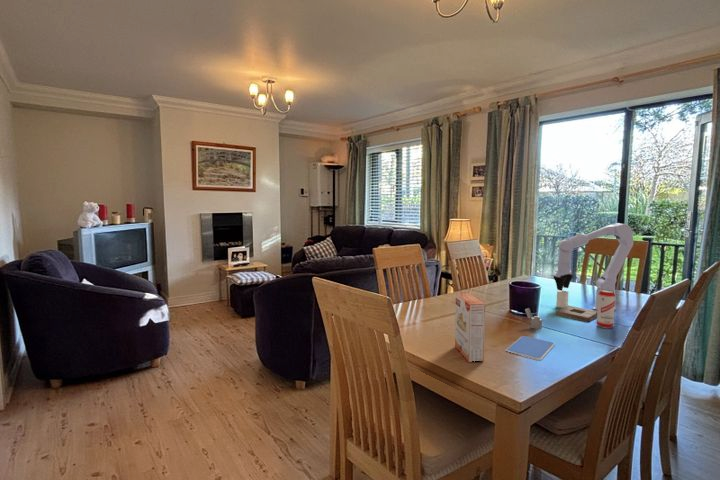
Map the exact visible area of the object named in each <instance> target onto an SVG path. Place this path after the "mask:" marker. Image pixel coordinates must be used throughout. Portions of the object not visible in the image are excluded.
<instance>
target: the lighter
mask: <svg viewBox="0 0 720 480" xmlns="http://www.w3.org/2000/svg"><path fill="white" fill-rule="evenodd" d="M524 312H525V314H526V316H527V318H528V319H531V320H530V329H534V330H535V329H536V330H540V331H542V330H543V319H542V318H541V317H540V316H538V315H534V316H533V314H532V312H531V309H530V308H529V307H528V308H525V309H524Z"/></svg>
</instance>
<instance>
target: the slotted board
mask: <svg viewBox="0 0 720 480" xmlns="http://www.w3.org/2000/svg"><path fill="white" fill-rule="evenodd" d="M555 315H556V316H560V317H563V318H564V317H565V318H569V319H573V320H578V321H581V322H582V321H583V322H587V323H589V322H591V321H592V320H594V319H595V318H596V319H597V310H594V309H588V308H583V307H578V306H573V305H568V306H566V307H563V308H562V307H560V308H559V309H557V310H556V311H555Z"/></svg>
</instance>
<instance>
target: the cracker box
mask: <svg viewBox="0 0 720 480" xmlns="http://www.w3.org/2000/svg"><path fill="white" fill-rule="evenodd" d="M454 317H455V321H454V322H455V326H454V327H455V328H454V335H455V336H454V347H455V348H456V350H457V351H458V350H459V351H460V352H459V351H458V352H459V353H460V354H461V356H462V357H463V356H464V357H465V358H466V359H465V358H464V357H463V358H464V359H465V360H466V361H467V362H468V363H476V362H475V361H483V362H484V360H485V359H484V357H485V356H484V355H485V327H486V326H485V325H486V323H485V322H486V321H485V320H486V319H485V318H486V304H485V303H483V302H482V301H481V300H479V299H478V298H477V297H475V296H474V295H472V294H471V293H456V294H455V316H454ZM472 361H474V362H472Z"/></svg>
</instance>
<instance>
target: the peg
mask: <svg viewBox="0 0 720 480" xmlns="http://www.w3.org/2000/svg"><path fill="white" fill-rule="evenodd" d="M555 304H556V305H555V307H558V308H563V307H566V306H568V304H569V291H566V290H562V291H561V290H557V292H556V303H555Z"/></svg>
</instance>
